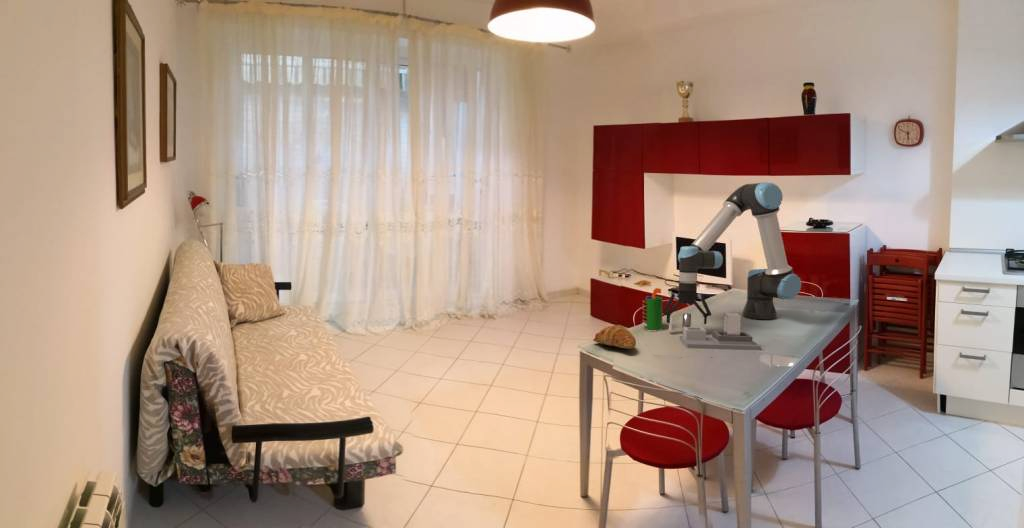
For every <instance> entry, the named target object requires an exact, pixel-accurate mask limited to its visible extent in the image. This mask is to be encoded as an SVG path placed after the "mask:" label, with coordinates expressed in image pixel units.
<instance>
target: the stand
mask: <svg viewBox="0 0 1024 528" xmlns="http://www.w3.org/2000/svg"><path fill="white" fill-rule="evenodd" d="M679 340H680V341H681V342H682V344H683V345H684V346H685V347H686V348H687V349H717V350H718V349H719V350H747V351H749V350H750V351H751V350H753V351H761V350H762V347H761V346H762V345H760V344H758V343H757V342H755V341H754V340H753V336H752V335H750V334H749V333H747V332H746V331H740V336H724V330H711V336H707V329H705V328H704V329H703V328H701V326H700V327H693V326H691V327H683V334H682V335H680V336H679Z"/></svg>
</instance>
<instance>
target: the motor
mask: <svg viewBox="0 0 1024 528" xmlns="http://www.w3.org/2000/svg"><path fill="white" fill-rule="evenodd" d="M657 294H662V289H661V288H660V287H656V288H654V289H653V291H652V294H651V296H645V299H643V300H642V306H643V307H642V314H643V315H642V318H643V319H642V322H645V325H646V324H647V326H646V328H647V329H648V330H660V329H662V330H663V297H660V296H656V295H657ZM660 331H661V330H660Z"/></svg>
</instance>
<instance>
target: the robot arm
mask: <svg viewBox="0 0 1024 528" xmlns="http://www.w3.org/2000/svg"><path fill="white" fill-rule="evenodd" d="M782 202H783V192H782V190H781V188H780V187H779V186H778V185H776V183H772V182H757V183H756V182H755V183H746V184H744V185H741V186H739V187H738V188H737V189H735V190H734V191H733V192H732V193H731V194H729V196H728V197H727V198H726V200H724V202H723V203H722V208H721V209H720V210H719V211H718V212H717V213H716V215H715V216H714V217H713V218H712V220H710V222H709V223H708V224H707V225H706V226H705V228H704V229H703V230H702V231H701V232H700V234H699V235H698V236H697V237H696V238H695V240H693V242H692V243H691V244H690V246H689V245H688V246H687V245H686V246H681V247H680V250H679V252H678V255H677V260H678V262H679V266H678V268H679V269H678V270H679V273H678V281H679V282H678V293H674V292H671V293H670V297H669V299H668V301H667V302H666V304H665V306H664V307H663V309H662V315H666V323H667V324H668V331H669V332H672V330H673V329H672V328H673V327H672V326H673V316H672V314H673V313H674V312H675V311H676V309H677V308H679V307H680V305H681V304H683V305H692V304H693V305H694V306H695V308H696V309H697V310H698V311H699V312H700V314H702V316H700V327H701V328H703V329H705V325H707V318H708V317H711V316H712V312H711V311H710V308H709V305H708V304H707V301H706V299H705V294H704V293H697V288H698V284H697V282H698V270H699V269H712V270H713V269H720V267H722V265H723V263H724V261H723V260H724V257H723V255H722V253H721V252H720V251H716V250H710V249H711V248H712V246H714V244H715V243H716V241H718V240H719V238H720V237H721V236H722V235H723V233H725V231H726V230H727V229H728V227H730V226H731V224H732V223H733V221H735V219H736V218H737V217H741V216H742V215H743V213H745V212H746V211H748V210H750V212H751V215H752V217H754V218H755V219H756V222H757V226H758V230H759V231H758V232H759V234H760V240H761V244H762V245H761V246H762V250H763V253H764V258H765V263H766V267H767V268H755V269H750V270H749V271H748V272H747V288H746V289H747V290H746V295H747V296H746V303H745V304H744V307H743V310H742V317H744V318H748V319H757V320H774V319H775V320H776V319H777V313H778V312H777V311H776V306H775V304H774V303H775V302H774V298H775V299H780V300H792V299H794V298H795V297H796V296H798V294H799V293H800V291H801V287H802V280H801V278H800V277H799V276H798V275H797V274H796V273H794V270H793V267H792V266H790V265H789V264H788V260H787V255H786V251H785V250H786V249H785V246H784V240H783V237H782V232H781V228H780V222H779V218H778V213H779V211H780V206H781V204H782ZM676 298H678V300H677V301H676V302H675V304H673V306H672V303H673V301H674V299H676ZM697 298H698V299H699V300H700V301H701V303H702V305H703V308H704V309H703V308H702V307H701V305H699V303H698V302H697V301H696V300H697ZM671 306H672V307H671ZM670 307H671V308H670ZM705 311H706V312H705Z"/></svg>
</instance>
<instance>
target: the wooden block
mask: <svg viewBox="0 0 1024 528" xmlns="http://www.w3.org/2000/svg"><path fill="white" fill-rule="evenodd" d="M723 315H724V316H723V331H724V336H740V332H741V319H742V316H741V314H739V313H734V312H729V313H728V312H725V313H723Z"/></svg>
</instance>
